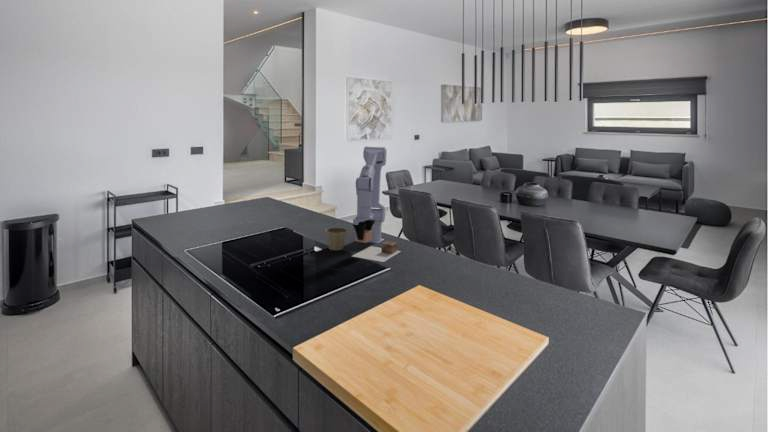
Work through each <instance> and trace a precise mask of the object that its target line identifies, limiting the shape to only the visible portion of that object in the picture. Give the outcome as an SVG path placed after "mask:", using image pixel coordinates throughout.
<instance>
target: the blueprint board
mask: <svg viewBox="0 0 768 432" xmlns="http://www.w3.org/2000/svg"><path fill="white" fill-rule="evenodd" d="M401 252H402V251H401V250H397V252H395V253H393V254H387V253H382V247H379V246H378V247H377V246H373V245H370V246H368V247H366V248H364V249H362V250H360V251H359V252H357V253H355V254H353V255H352V258H353V257H354V258H359V259H364V260H370V261H375V262H381V263H384V262H386V261H388V260H389V259H391V258H393V257H394V256H396V255H398V254H399V253H401Z"/></svg>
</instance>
